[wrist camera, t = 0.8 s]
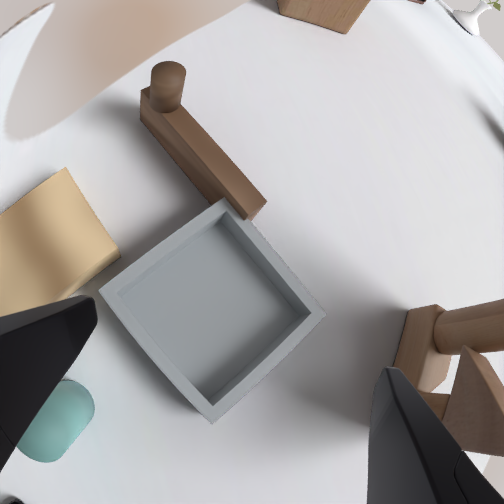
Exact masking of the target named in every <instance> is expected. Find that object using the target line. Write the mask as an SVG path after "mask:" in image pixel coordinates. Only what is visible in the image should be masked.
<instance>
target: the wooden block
mask: <svg viewBox="0 0 504 504" xmlns="http://www.w3.org/2000/svg"><path fill="white" fill-rule="evenodd" d="M369 1H370V0H277V3H278V7H279V12H280V14H282V15H284V16H288V17H292V18H295V19H299V20H302V21H306V22H309V23H312V24H316V25H319V26H322V27H325V28H328V29H331V30H334V31H337V32H340V33H342V34H346V33H347V32H348V31H349V30H350V28H351V27H352V25H353V24H354V22H355V21H356V20H357V18H358V17H359V15H360V14H361V13H362V11H363V10H364V8H365V7H366V6H367V4H368V3H369Z"/></svg>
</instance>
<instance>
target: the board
mask: <svg viewBox="0 0 504 504" xmlns="http://www.w3.org/2000/svg"><path fill="white" fill-rule="evenodd" d="M120 257H121V255H120V252H119V249H118V247H117V246H116V244H115V243H114V241H113V240H112V238H111V237H110V236H109V234H108V233H107V231H106V230H105V228H104V227H103V225H102V224H101V222H100V221H99V219H98V218H97V216H96V215H95V213H94V211H93V210H92V208H91V207H90V205H89V204H88V202H87V201H86V199H85V197H84V196H83V194H82V193H81V191H80V189H79V188H78V186H77V184H76V183H75V181H74V180H73V178H72V176H71V175H70V173H69V171H68V170H67V168H66V167H65V168H63V169H62V170H60V171H59V172H57V173H56V174H54V175H53V176H51V177H50V178H48V179H47V180H46V181H44V182H43V183H41V184H40V185H39V186H37V187H36V188H34V189H33V190H32V191H30V192H29V193H28V194H26V195H25V196H24V197H22V198H21V199H20V200H18V201H17V202H16V203H15V204H13V205H12V206H11V207H9V208H8V209H7V210H6V211H4V212H3V213H2V214H1V215H0V317H1V316H5V315H9V314H13V313H16V312H20V311H24V310H27V309H31V308H35V307H38V306H42V305H46V304H50V303H53V302H57V301H61V300H64V299H66V298H68V297H69V296H70V295H71V294H73V293H74V292H75V291H76V290H78V289H79V288H80V287H81V286H83V285H84V284H85V283H87V282H88V281H89V280H91V279H92V278H93V277H94V276H96V275H97V274H98V273H100V272H101V271H102V270H104V269H105V268H106V267H108V266H109V265H110V264H112V263H113V262H114V261H116V260H117V259H118V258H120Z"/></svg>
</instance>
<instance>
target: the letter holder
mask: <svg viewBox="0 0 504 504" xmlns="http://www.w3.org/2000/svg"><path fill="white" fill-rule="evenodd" d="M408 1H412V2H416V3H419V4H423V3H424V2H425V1H426V0H408Z"/></svg>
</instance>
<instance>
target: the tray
mask: <svg viewBox="0 0 504 504" xmlns="http://www.w3.org/2000/svg"><path fill="white" fill-rule="evenodd" d="M98 291H99V292H100V294H101V295H102V297H103V298H104V299H105V301H106V302H107V304H108V305H109V306H110V308H111V309H112V310H113V312H114V313H115V314H116V316H117V317H118V318H119V320H120V321H121V322H122V323H123V325H124V326H125V327H126V329H127V330H128V331H129V332H130V334H131V335H132V336H133V337H134V339H135V340H136V341H137V342H138V344H139V345H140V346H141V347H142V349H143V350H144V351H145V352H146V353H147V355H148V356H149V357H150V358H151V359H152V361H153V362H154V363H155V364H156V365H157V366H158V367H159V369H160V370H161V371H162V372H163V373H164V374H165V375H166V377H167V378H168V379H169V380H170V381H171V382H172V383H173V384H174V386H175V387H176V388H177V389H178V390H179V391H180V392H181V393H182V394H183V395H184V396H185V397H186V398H187V400H188V401H189V402H190V403H191V404H192V405H193V406H194V407H195V408H196V409H197V410H198V411H199V412H200V413H201V414H202V415H203V416H204V417H205V418H206V419H207V420H208V421H209V422H210V423H211V424H213V423H214V422H215V421H217V420H218V419H219V418H220V417H221V416H222V415H223V414H225V413H226V412H227V411H228V410H229V409H230V408H231V407H233V406H234V405H235V404H236V403H237V402H238V401H239V400H240V399H241V398H243V397H244V396H245V395H246V394H247V393H248V392H249V391H250V390H251V389H252V388H253V387H254V386H256V385H257V384H258V383H259V382H260V381H261V380H262V379H263V378H264V377H265V376H266V375H267V374H268V373H269V372H270V371H271V370H272V369H273V368H275V367H276V366H277V365H278V364H279V363H280V362H281V361H282V360H283V359H284V358H285V357H286V356H287V355H288V354H289V353H290V352H291V351H292V350H293V349H294V348H295V347H296V346H297V345H298V344H299V343H300V342H301V341H302V340H303V339H304V338H305V337H306V336H307V335H308V333H309V332H310V331H311V330H312V329H313V328H314V327H315V326H316V325H317V324H318V323H319V322H320V321H321V320H322V319H323V318H324V317H325V316H326V315H327V313H326V312H325V311H324V310H323V309H322V307H321V306H320V305H319V304H318V302H317V301H316V300H315V299H314V297H313V296H312V295H311V294H310V293H309V291H308V290H307V289H306V288H305V287H304V285H303V284H302V283H301V282H300V280H299V279H298V278H297V277H296V276H295V274H294V273H293V272H292V271H291V270H290V268H289V267H288V266H287V265H286V263H285V262H284V261H283V260H282V259H281V257H280V256H279V255H278V254H277V253H276V251H275V250H274V249H273V248H272V247H271V245H270V244H269V243H268V242H267V241H266V239H265V238H264V237H263V236H262V235H261V233H260V232H259V231H258V230H257V229H256V227H255V226H254V225H253V224H252V223H251V221H250V220H249V219H248V218H247V219H246V220H245V221H244V220H243V219H242V217H241V216H240V215H239V214H238V213H237V211H236V210H235V209H234V208H233V207H232V206H231V204H230V203H229V202H228V201H227V200H226V198H225V197H224V198H222V199H221V200H219V201H218V202H216V203H215V204H214V205H212V206H211V207H209V208H208V209H206V210H205V211H204V212H202V213H201V214H199V215H198V216H196V217H195V218H194V219H192V220H191V221H189V222H188V223H187V224H185V225H184V226H182V227H181V228H180V229H178V230H177V231H175V232H174V233H173V234H171V235H170V236H169V237H167V238H166V239H164V240H163V241H162V242H160V243H159V244H158V245H156V246H155V247H154V248H152V249H151V250H150V251H148V252H147V253H146V254H144V255H143V256H142V257H140V258H139V259H138V260H136V261H135V262H134V263H132V264H131V265H130V266H128V267H127V268H126V269H125V270H123V271H122V272H121V273H119V274H118V275H117V276H115V277H114V278H113V279H112V280H110V281H109V282H108V283H106V284H105V285H104V286H103V287H101V288H100V289H99V290H98Z"/></svg>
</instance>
